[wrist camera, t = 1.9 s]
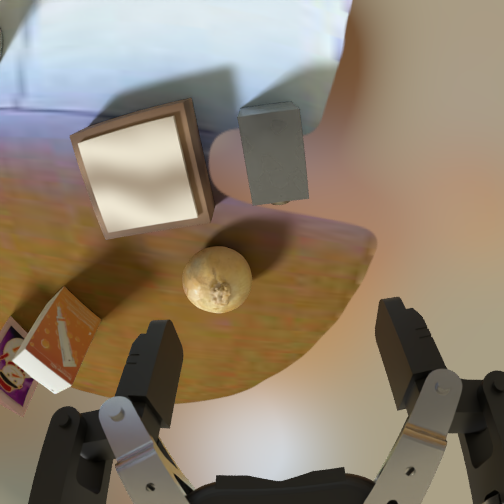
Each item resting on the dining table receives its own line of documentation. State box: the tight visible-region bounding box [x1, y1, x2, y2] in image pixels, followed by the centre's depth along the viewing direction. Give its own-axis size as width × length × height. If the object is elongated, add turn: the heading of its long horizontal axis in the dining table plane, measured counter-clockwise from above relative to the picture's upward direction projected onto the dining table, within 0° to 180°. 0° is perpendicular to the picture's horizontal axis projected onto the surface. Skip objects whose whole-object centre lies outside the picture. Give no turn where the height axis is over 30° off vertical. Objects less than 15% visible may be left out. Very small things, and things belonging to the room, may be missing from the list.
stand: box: [70, 98, 215, 240], centre depth 30 cm, size 12×12×4 cm
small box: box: [12, 286, 101, 394], centre depth 39 cm, size 8×6×13 cm
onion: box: [182, 246, 252, 313], centre depth 36 cm, size 8×8×7 cm
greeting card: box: [0, 316, 38, 417], centre depth 43 cm, size 11×7×15 cm, turn 28°
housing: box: [237, 101, 309, 206], centre depth 29 cm, size 9×5×6 cm, turn 9°
